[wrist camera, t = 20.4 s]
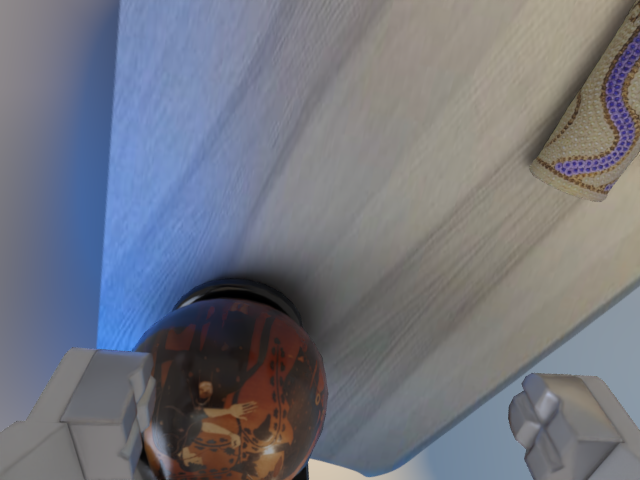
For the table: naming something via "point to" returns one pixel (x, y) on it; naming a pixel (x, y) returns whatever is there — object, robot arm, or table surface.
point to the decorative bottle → (598, 122)
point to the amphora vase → (232, 387)
